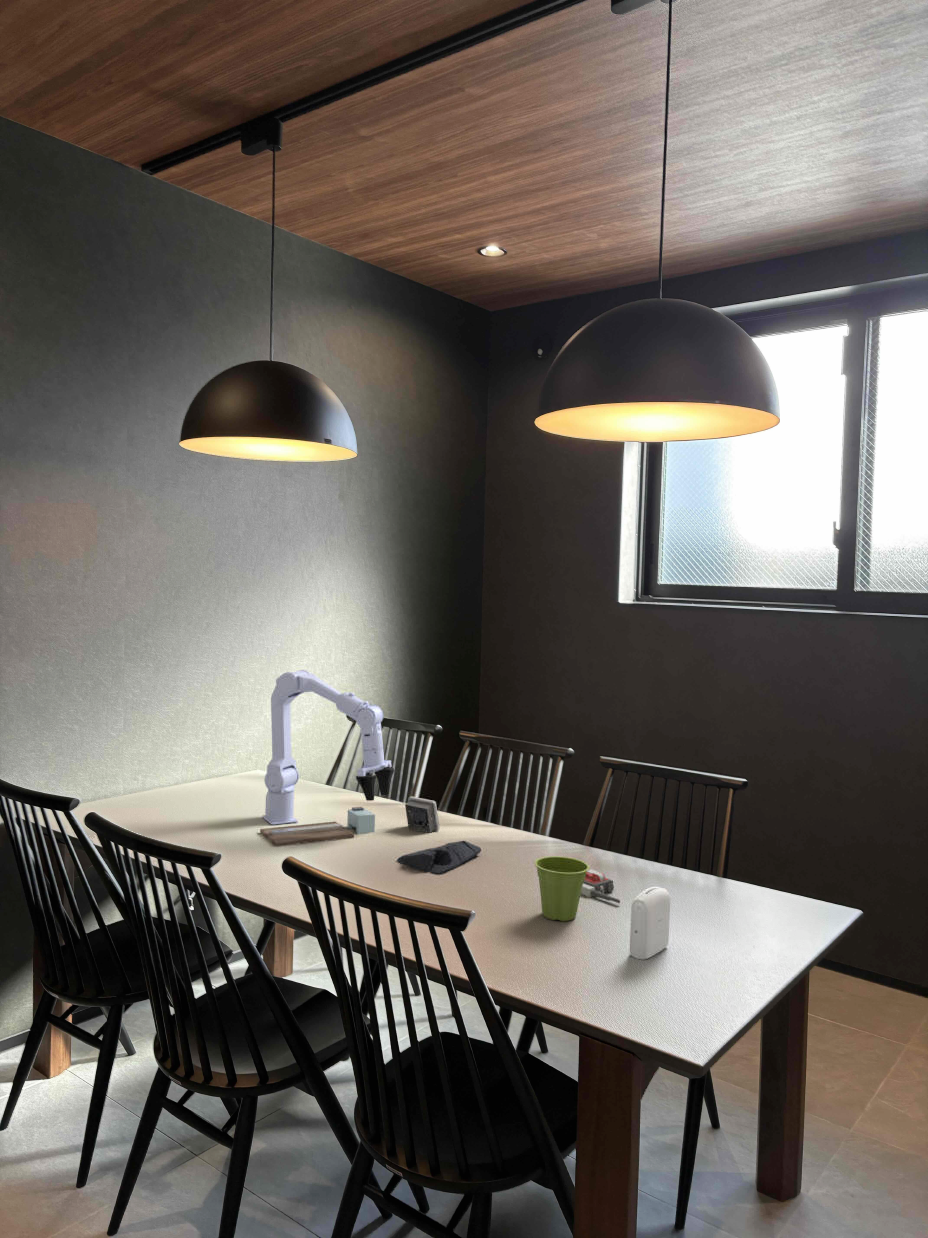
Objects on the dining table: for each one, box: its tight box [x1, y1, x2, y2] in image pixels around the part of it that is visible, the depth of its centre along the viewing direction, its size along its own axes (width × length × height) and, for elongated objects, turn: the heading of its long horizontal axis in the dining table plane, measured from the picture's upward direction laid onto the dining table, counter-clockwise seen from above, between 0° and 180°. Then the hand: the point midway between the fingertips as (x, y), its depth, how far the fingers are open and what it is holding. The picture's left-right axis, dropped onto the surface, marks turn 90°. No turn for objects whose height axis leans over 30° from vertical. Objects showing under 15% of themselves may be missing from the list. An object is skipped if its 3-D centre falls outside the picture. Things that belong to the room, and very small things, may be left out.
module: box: [346, 806, 376, 835], centre depth 257 cm, size 8×5×6 cm, turn 29°
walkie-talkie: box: [581, 869, 621, 904], centre depth 212 cm, size 9×4×20 cm
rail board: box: [259, 821, 355, 847], centre depth 249 cm, size 14×22×2 cm, turn 119°
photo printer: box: [629, 886, 671, 961], centre depth 177 cm, size 10×4×12 cm, turn 140°
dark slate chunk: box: [396, 840, 482, 875], centre depth 231 cm, size 15×22×5 cm
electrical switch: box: [404, 795, 440, 834], centre depth 258 cm, size 9×5×9 cm, turn 57°
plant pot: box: [533, 855, 591, 922], centre depth 194 cm, size 12×12×11 cm
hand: (377, 797), depth 252 cm, fingers open, 7 cm apart
